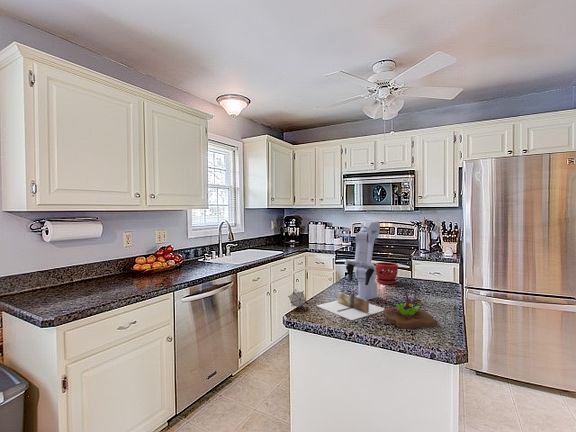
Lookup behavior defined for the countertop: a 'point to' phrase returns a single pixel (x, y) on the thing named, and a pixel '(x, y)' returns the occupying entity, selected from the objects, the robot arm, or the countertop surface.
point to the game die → (297, 298)
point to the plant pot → (386, 272)
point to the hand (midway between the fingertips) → (358, 282)
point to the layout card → (349, 310)
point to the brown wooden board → (361, 304)
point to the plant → (409, 315)
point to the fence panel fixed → (346, 299)
